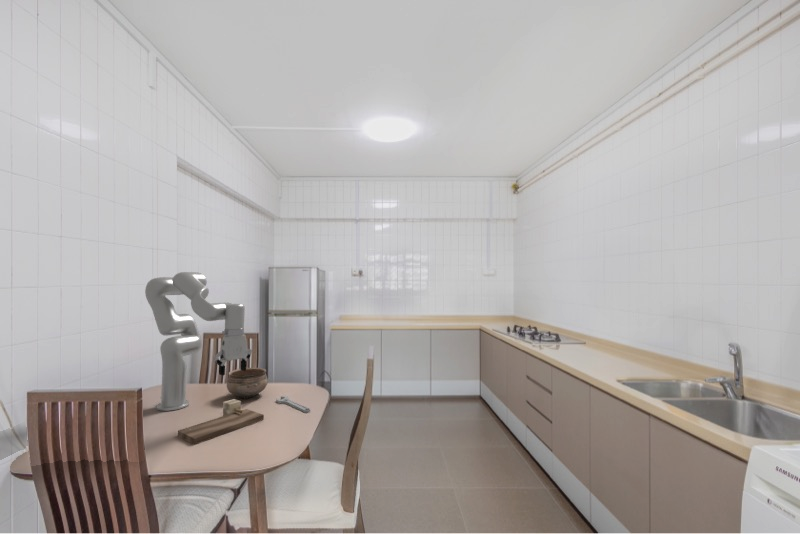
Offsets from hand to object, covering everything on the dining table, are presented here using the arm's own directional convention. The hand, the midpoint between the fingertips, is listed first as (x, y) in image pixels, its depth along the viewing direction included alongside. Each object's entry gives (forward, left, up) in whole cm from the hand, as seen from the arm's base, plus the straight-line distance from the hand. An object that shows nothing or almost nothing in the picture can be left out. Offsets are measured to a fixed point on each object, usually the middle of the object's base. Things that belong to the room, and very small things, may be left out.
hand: (232, 372), depth 154 cm
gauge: (+2, 0, -18) cm, 18 cm away
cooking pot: (-18, +19, -19) cm, 32 cm away
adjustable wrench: (+11, +23, -19) cm, 32 cm away
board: (+9, -9, -18) cm, 22 cm away
